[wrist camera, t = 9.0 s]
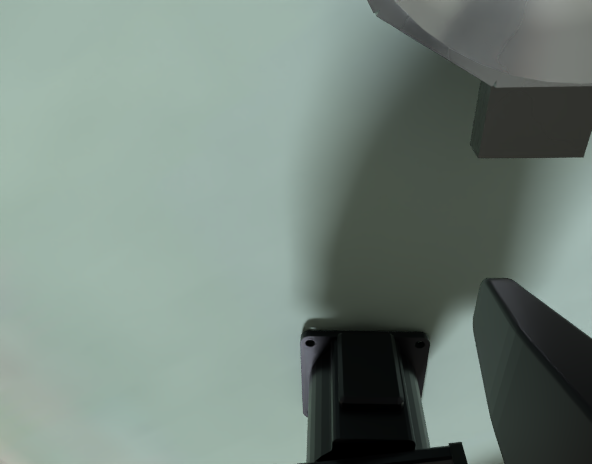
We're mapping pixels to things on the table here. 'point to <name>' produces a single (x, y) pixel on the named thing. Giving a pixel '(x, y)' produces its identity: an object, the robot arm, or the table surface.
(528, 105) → the pot
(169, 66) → the table surface
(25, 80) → the table surface
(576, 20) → the lid
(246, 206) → the table surface
